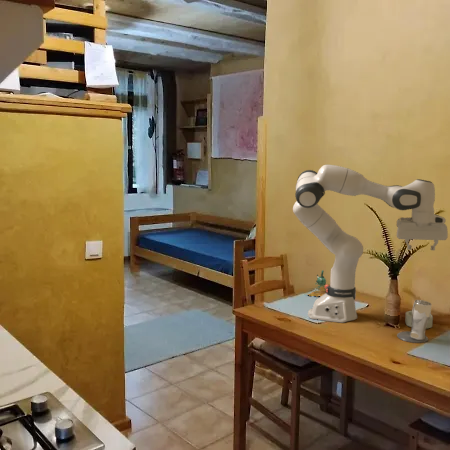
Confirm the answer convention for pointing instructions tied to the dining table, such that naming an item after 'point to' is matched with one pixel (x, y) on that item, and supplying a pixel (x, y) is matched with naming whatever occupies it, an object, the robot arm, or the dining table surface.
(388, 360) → the dining table surface
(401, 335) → the coaster
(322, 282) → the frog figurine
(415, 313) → the beer glass
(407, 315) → the bowl
